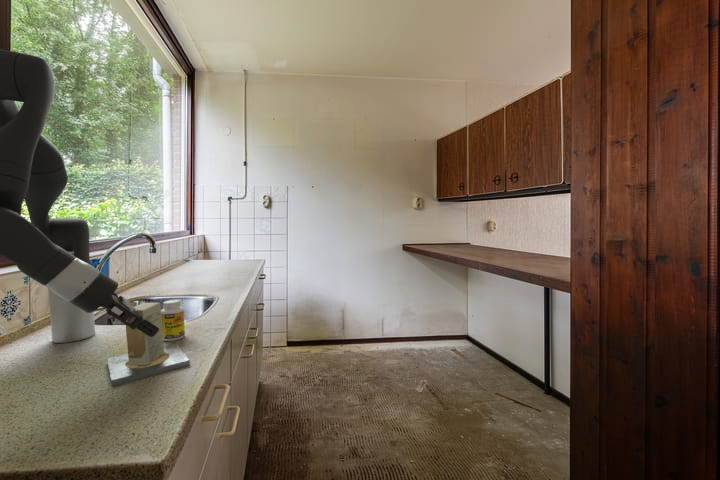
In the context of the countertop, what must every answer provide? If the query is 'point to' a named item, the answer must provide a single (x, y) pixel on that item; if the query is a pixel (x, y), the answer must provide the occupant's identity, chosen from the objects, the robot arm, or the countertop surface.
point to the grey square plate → (165, 362)
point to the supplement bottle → (172, 320)
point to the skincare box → (145, 336)
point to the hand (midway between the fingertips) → (152, 328)
